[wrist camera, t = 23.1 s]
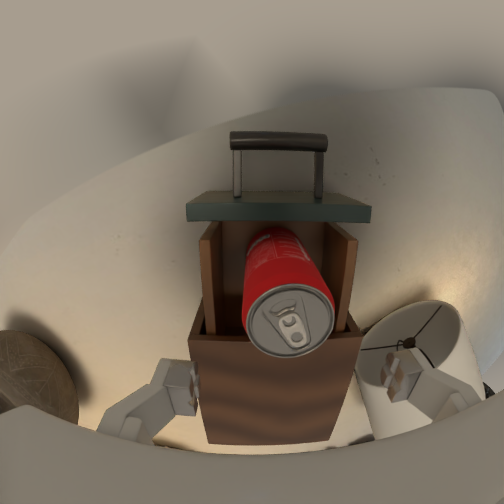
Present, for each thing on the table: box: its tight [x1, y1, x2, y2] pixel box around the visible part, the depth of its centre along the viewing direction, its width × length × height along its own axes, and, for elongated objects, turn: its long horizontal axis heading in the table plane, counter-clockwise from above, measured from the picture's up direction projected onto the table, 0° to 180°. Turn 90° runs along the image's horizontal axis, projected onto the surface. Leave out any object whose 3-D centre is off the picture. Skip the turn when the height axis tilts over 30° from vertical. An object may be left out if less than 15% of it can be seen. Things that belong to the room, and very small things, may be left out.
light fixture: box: [354, 300, 495, 440], centre depth 26 cm, size 17×19×34 cm
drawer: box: [186, 131, 372, 336], centre depth 22 cm, size 19×12×8 cm, turn 0°
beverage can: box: [242, 227, 335, 358], centre depth 19 cm, size 5×5×12 cm
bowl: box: [0, 330, 79, 425], centre depth 27 cm, size 21×21×15 cm
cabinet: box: [188, 297, 363, 445], centre depth 26 cm, size 16×14×10 cm
